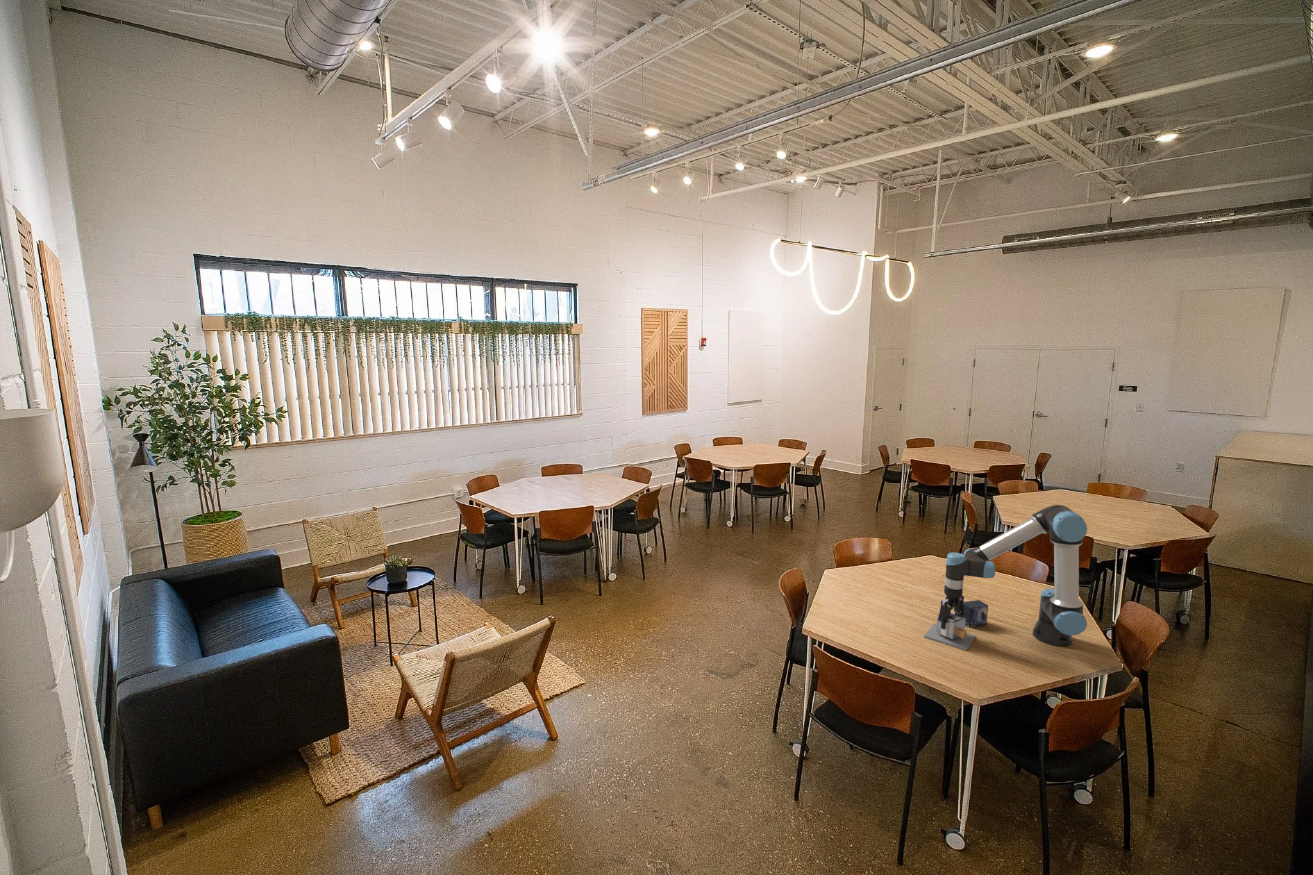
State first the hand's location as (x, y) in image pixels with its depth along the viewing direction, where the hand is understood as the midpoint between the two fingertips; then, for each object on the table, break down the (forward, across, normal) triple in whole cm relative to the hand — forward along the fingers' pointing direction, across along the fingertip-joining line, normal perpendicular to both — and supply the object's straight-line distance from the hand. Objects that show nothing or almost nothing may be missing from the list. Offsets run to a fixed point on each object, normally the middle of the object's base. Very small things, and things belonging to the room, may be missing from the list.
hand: (950, 632), depth 266 cm
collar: (0, 0, +1) cm, 2 cm away
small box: (+3, -22, -3) cm, 23 cm away
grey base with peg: (+2, 0, 0) cm, 2 cm away
